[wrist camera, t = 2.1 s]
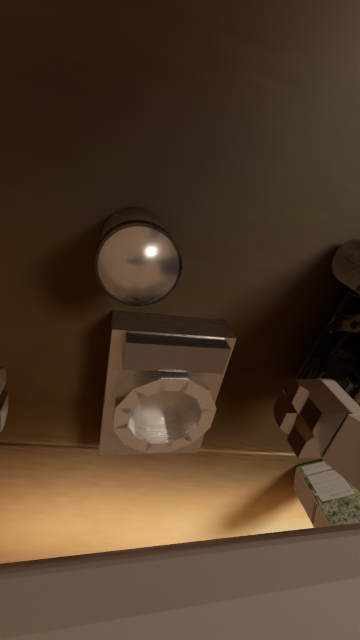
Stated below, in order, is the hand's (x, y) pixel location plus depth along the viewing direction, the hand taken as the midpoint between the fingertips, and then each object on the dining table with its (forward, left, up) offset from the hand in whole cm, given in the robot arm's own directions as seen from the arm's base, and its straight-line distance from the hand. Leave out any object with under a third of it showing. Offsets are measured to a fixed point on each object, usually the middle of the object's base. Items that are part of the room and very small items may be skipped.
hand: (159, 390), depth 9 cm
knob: (0, 0, -16) cm, 16 cm away
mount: (+13, +4, -16) cm, 21 cm away
